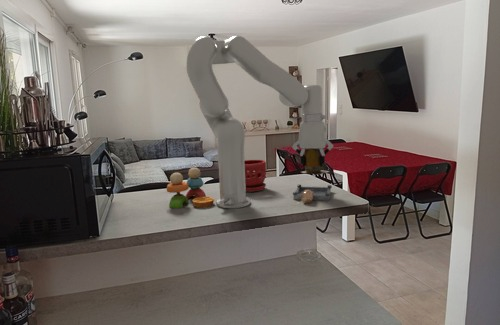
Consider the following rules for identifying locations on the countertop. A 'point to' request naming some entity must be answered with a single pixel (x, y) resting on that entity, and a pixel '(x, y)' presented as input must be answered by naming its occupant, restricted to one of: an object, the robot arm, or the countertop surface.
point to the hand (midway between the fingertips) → (312, 165)
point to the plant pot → (255, 175)
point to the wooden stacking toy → (194, 184)
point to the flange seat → (312, 193)
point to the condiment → (313, 162)
